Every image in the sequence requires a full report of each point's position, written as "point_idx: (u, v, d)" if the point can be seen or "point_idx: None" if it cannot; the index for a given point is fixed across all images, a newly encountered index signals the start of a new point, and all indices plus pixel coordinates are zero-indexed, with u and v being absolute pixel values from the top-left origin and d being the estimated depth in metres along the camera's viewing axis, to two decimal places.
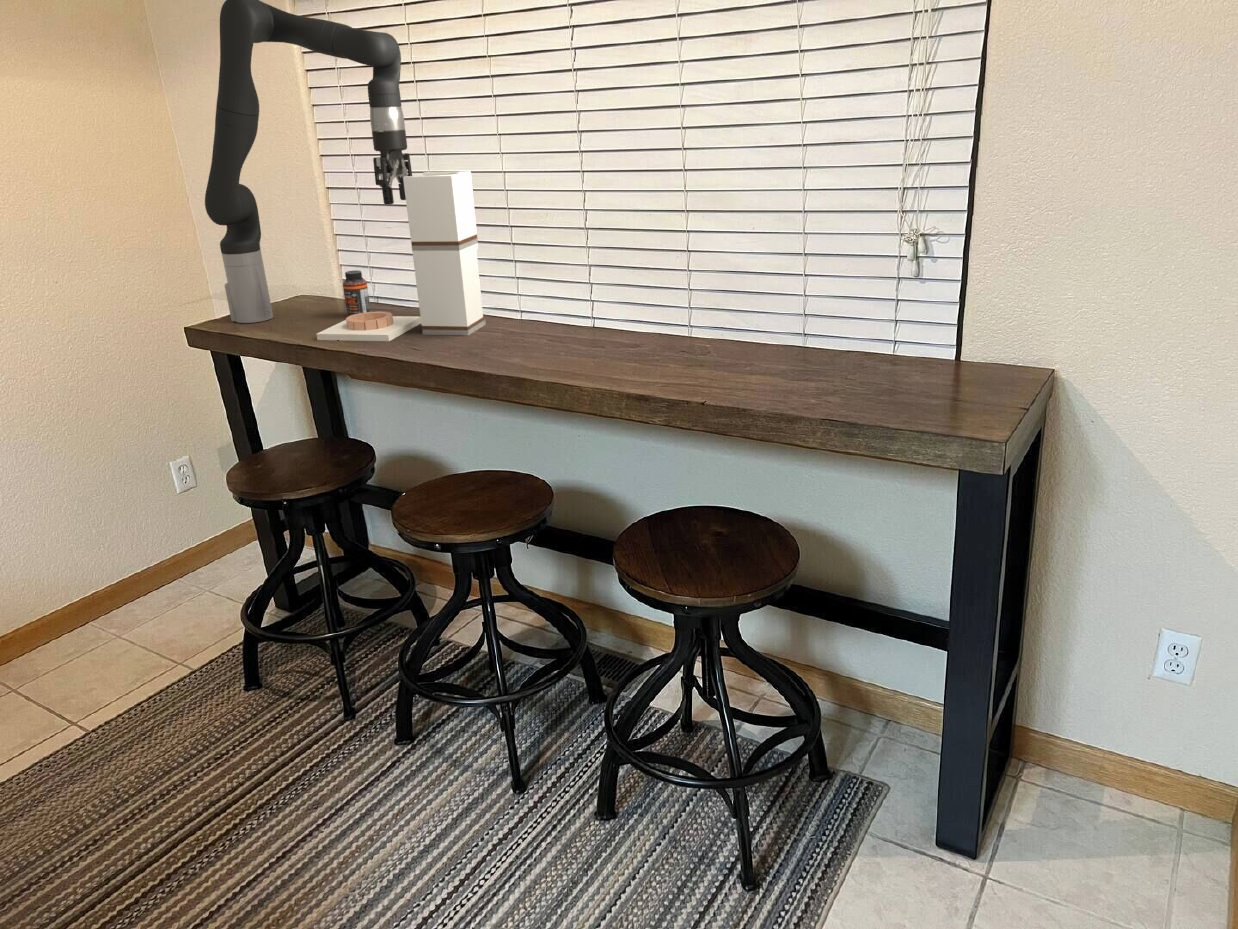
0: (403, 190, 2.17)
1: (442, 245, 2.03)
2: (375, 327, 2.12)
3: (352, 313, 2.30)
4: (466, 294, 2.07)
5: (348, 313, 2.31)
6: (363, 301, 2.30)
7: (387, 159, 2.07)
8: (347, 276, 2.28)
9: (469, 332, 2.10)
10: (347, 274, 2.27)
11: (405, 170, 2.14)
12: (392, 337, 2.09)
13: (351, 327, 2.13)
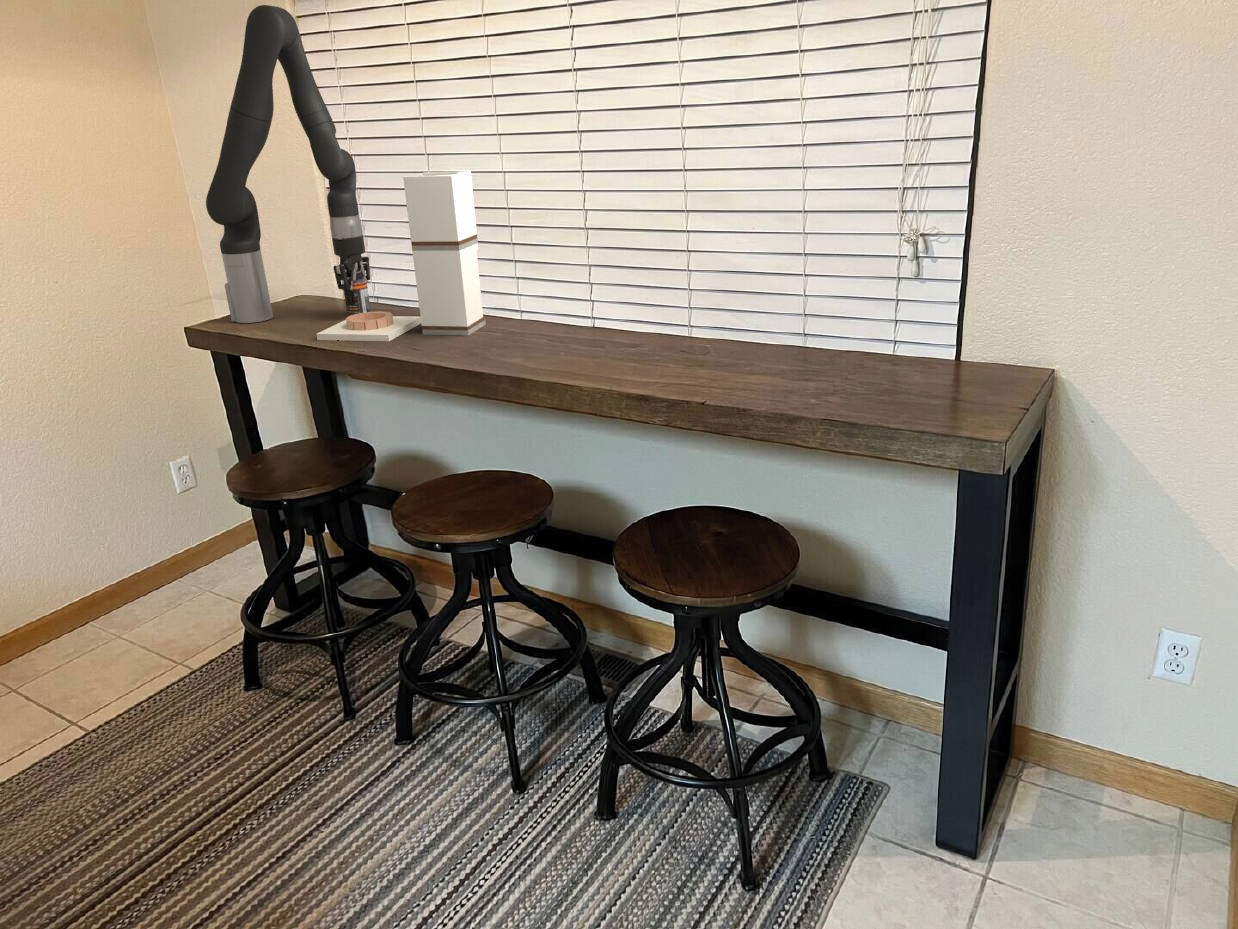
0: None
1: (442, 245, 2.03)
2: (375, 327, 2.12)
3: (352, 313, 2.30)
4: (466, 294, 2.07)
5: (348, 313, 2.31)
6: (363, 301, 2.30)
7: (346, 264, 2.24)
8: (347, 276, 2.28)
9: (469, 332, 2.10)
10: None
11: (363, 272, 2.31)
12: (392, 337, 2.09)
13: (351, 327, 2.13)
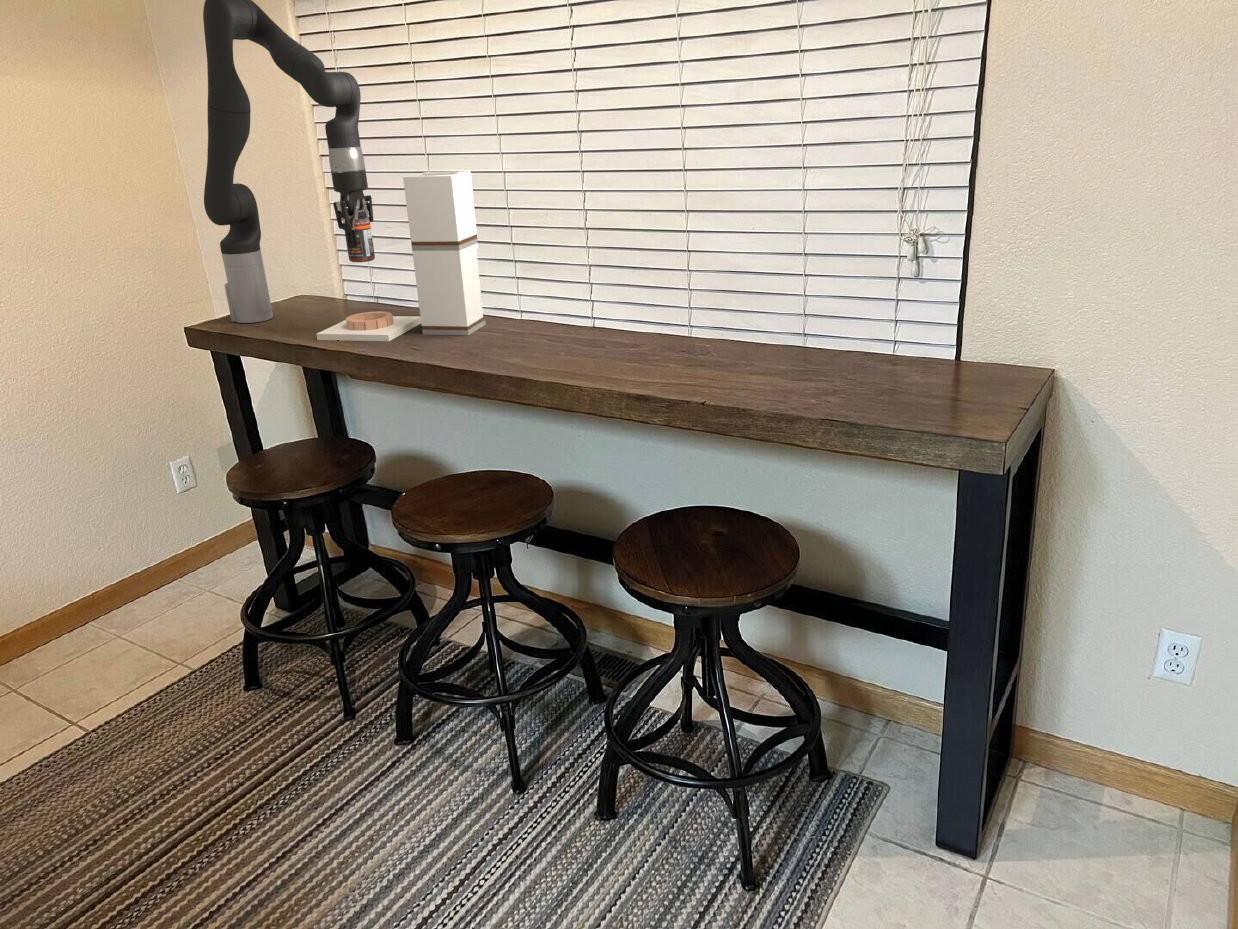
0: None
1: (442, 245, 2.03)
2: (375, 327, 2.12)
3: (354, 256, 2.09)
4: (466, 294, 2.07)
5: (350, 257, 2.10)
6: (366, 243, 2.09)
7: (347, 201, 2.03)
8: None
9: (469, 332, 2.10)
10: None
11: (366, 211, 2.10)
12: (392, 337, 2.09)
13: (351, 327, 2.13)
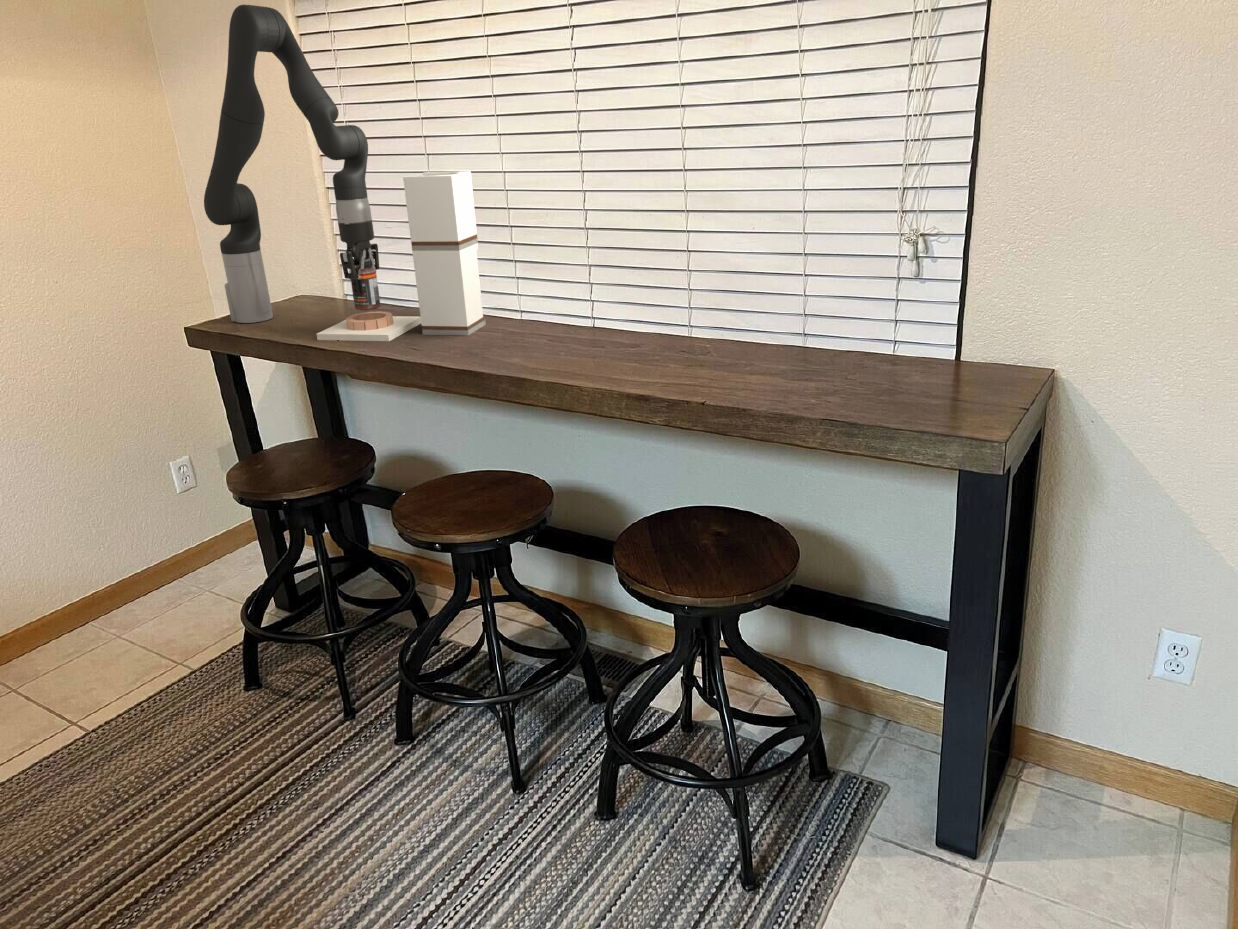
0: None
1: (442, 245, 2.03)
2: (375, 327, 2.12)
3: (360, 305, 2.12)
4: (466, 294, 2.07)
5: (356, 305, 2.13)
6: (372, 292, 2.12)
7: (354, 251, 2.06)
8: None
9: (469, 332, 2.10)
10: None
11: (372, 260, 2.13)
12: (392, 337, 2.09)
13: (351, 327, 2.13)
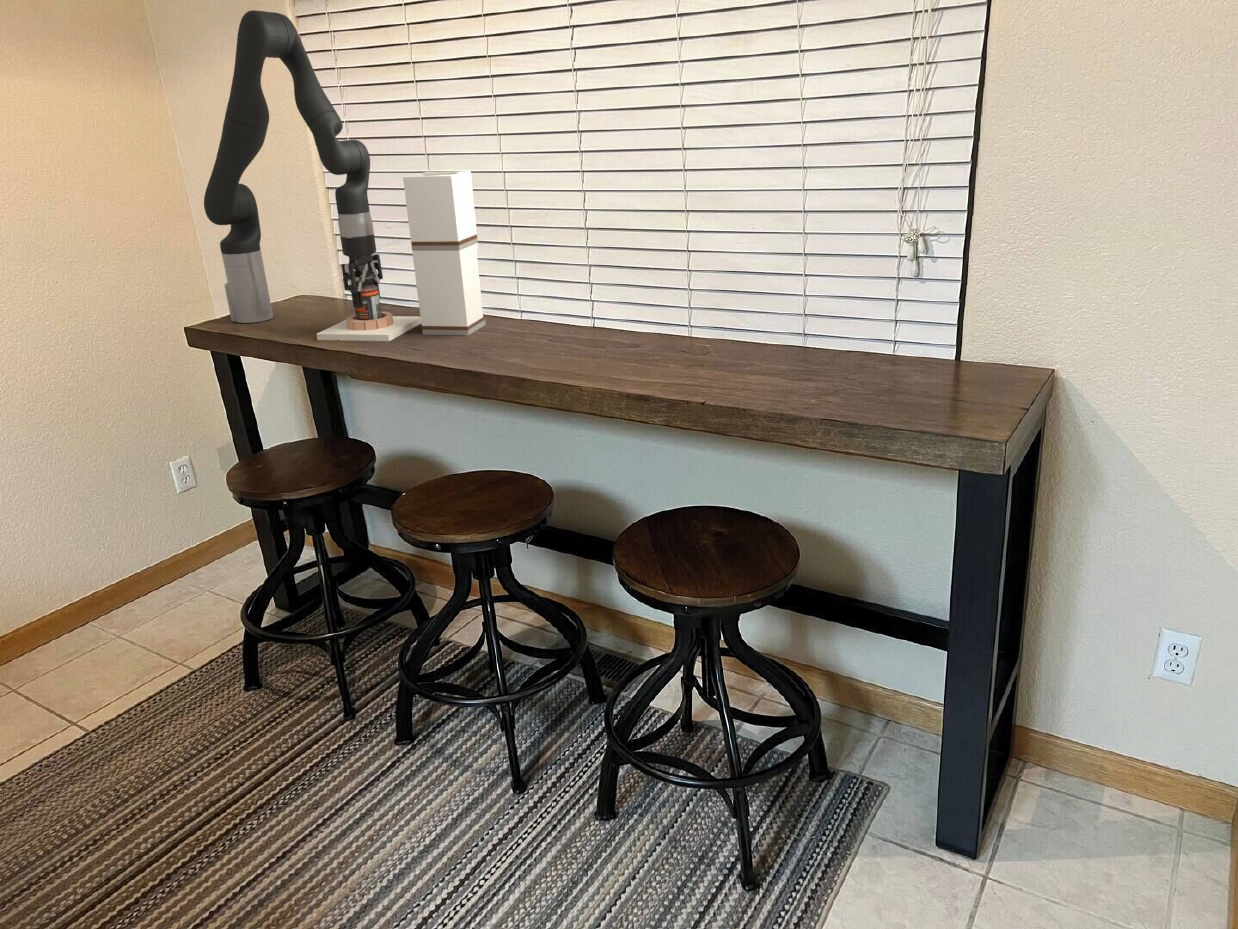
0: None
1: (442, 245, 2.03)
2: (375, 327, 2.12)
3: None
4: (466, 294, 2.07)
5: None
6: (374, 309, 2.13)
7: (356, 264, 2.07)
8: None
9: (469, 332, 2.10)
10: None
11: (375, 272, 2.14)
12: (392, 337, 2.09)
13: (351, 327, 2.13)
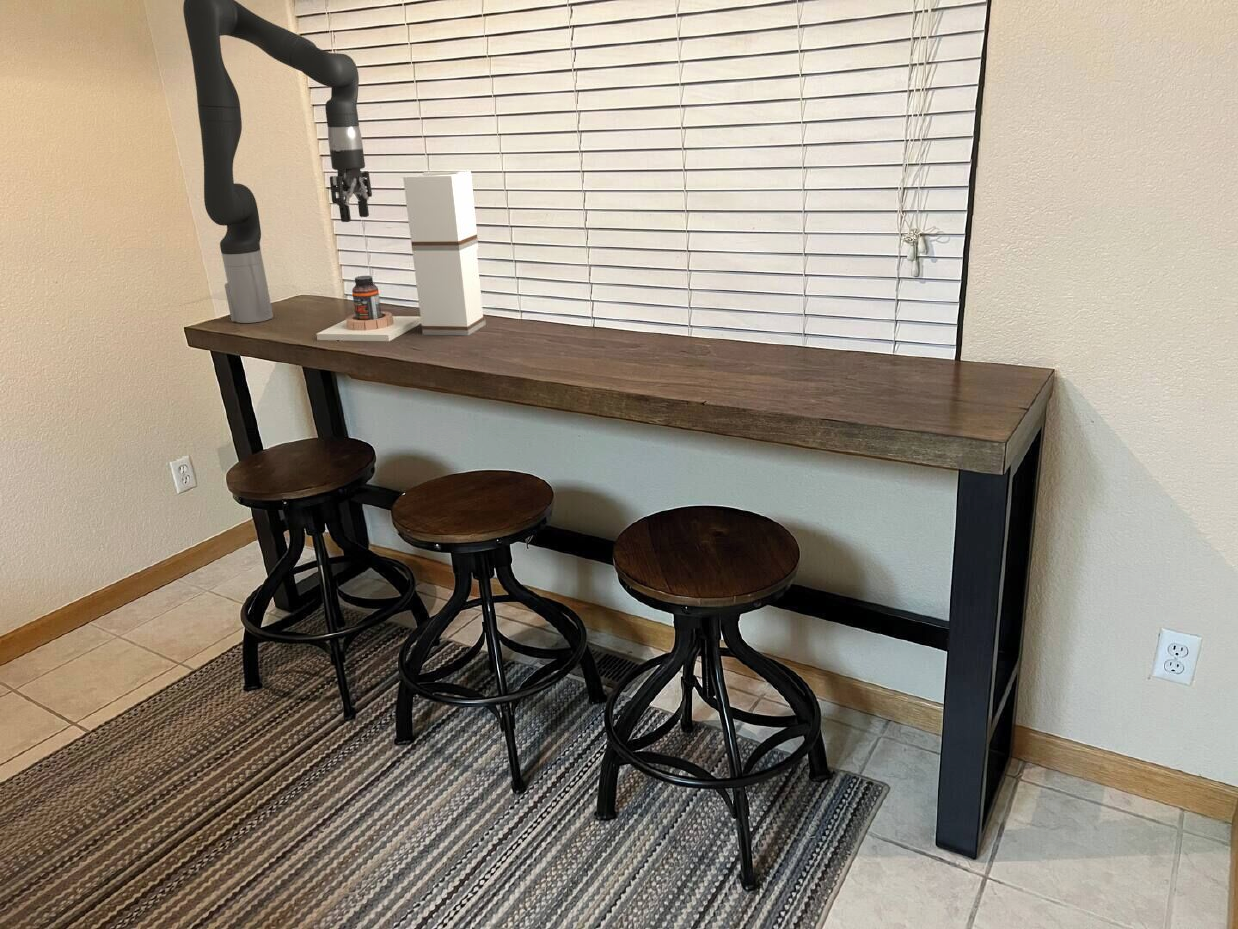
0: (362, 207, 2.21)
1: (442, 245, 2.03)
2: (375, 327, 2.12)
3: None
4: (466, 294, 2.07)
5: None
6: (374, 309, 2.13)
7: (344, 178, 2.11)
8: (357, 282, 2.11)
9: (469, 332, 2.10)
10: (357, 280, 2.11)
11: (363, 188, 2.18)
12: (392, 337, 2.09)
13: (351, 327, 2.13)
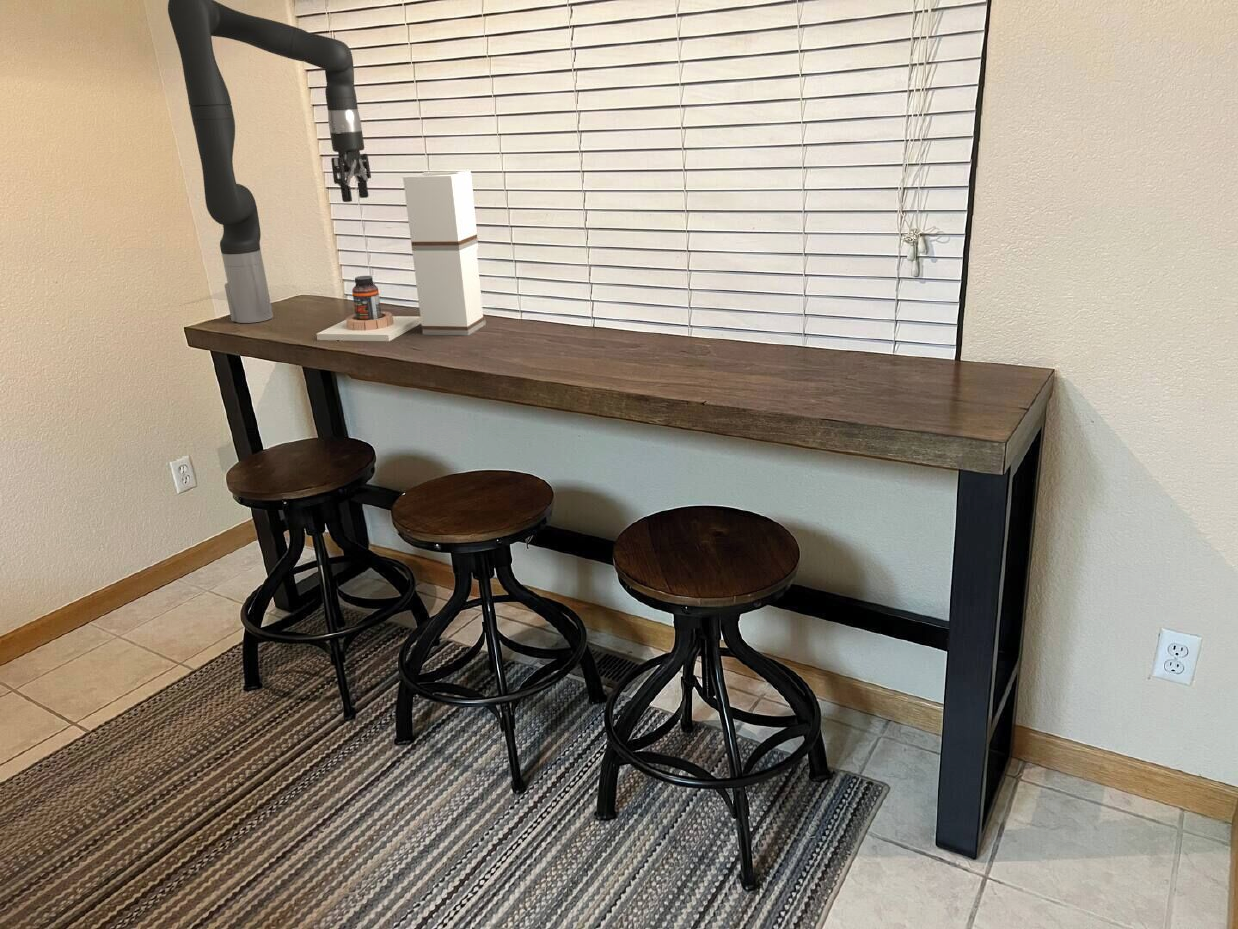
0: (362, 188, 2.30)
1: (442, 245, 2.03)
2: (375, 327, 2.12)
3: None
4: (466, 294, 2.07)
5: None
6: (374, 309, 2.13)
7: (345, 159, 2.19)
8: (357, 282, 2.11)
9: (469, 332, 2.10)
10: (357, 280, 2.11)
11: (363, 169, 2.26)
12: (392, 337, 2.09)
13: (351, 327, 2.13)
